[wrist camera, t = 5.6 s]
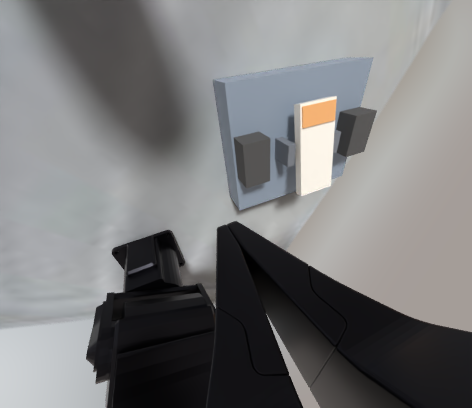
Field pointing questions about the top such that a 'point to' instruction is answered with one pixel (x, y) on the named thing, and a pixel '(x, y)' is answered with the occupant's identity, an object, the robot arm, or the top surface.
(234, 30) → the top surface
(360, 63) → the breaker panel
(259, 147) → the plug left
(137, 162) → the top surface
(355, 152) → the plug right
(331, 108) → the breaker paddle
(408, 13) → the top surface
